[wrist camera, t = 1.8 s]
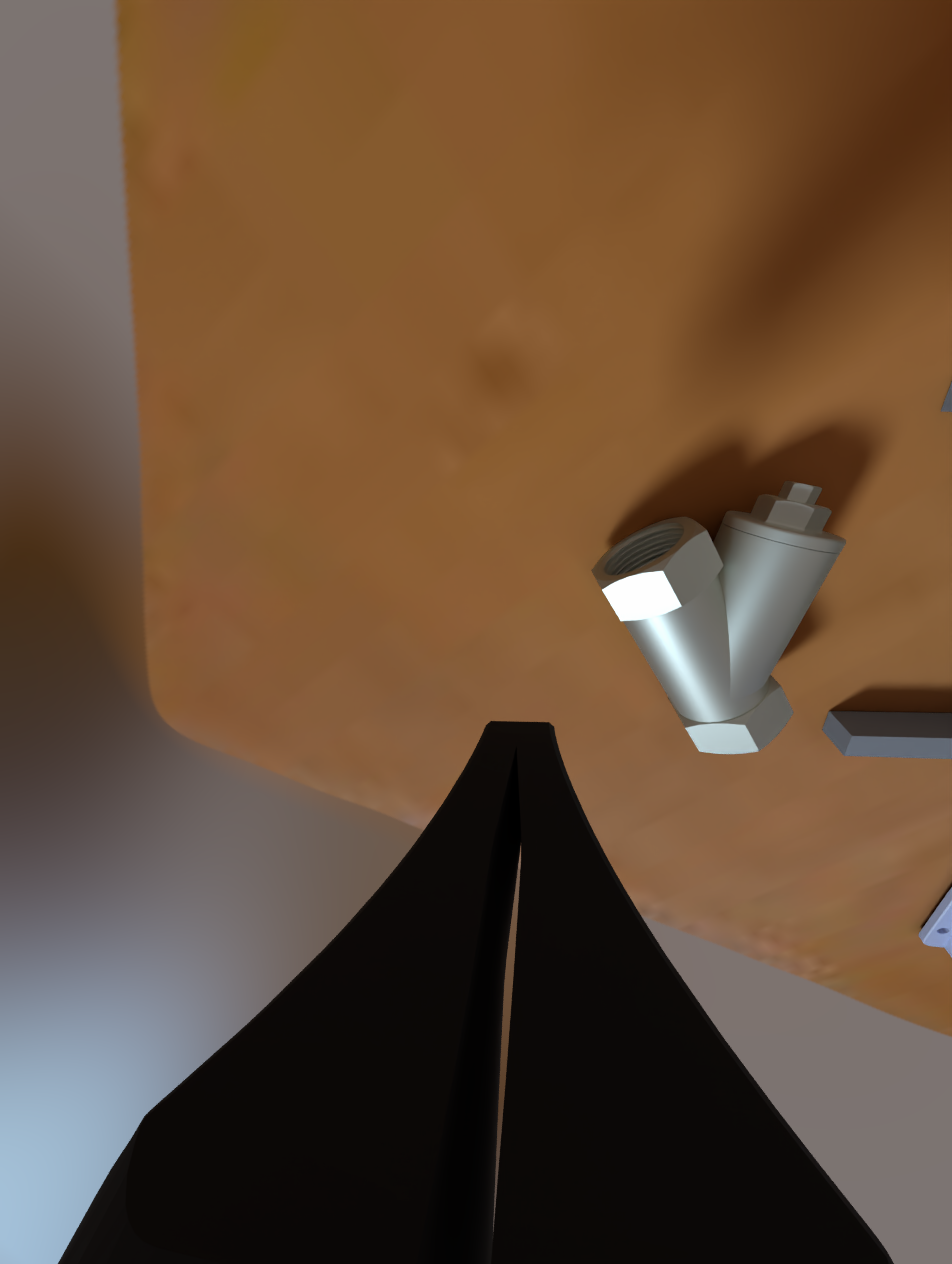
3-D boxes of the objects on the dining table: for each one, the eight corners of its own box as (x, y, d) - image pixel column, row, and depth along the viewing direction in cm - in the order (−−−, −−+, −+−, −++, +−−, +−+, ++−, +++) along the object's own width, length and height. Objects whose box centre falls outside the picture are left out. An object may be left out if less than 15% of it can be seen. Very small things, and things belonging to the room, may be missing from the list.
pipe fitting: (768, 448, 14) (585, 559, 16) (854, 457, 11) (605, 597, 13) (840, 632, 17) (674, 707, 19) (927, 687, 13) (712, 773, 15)
